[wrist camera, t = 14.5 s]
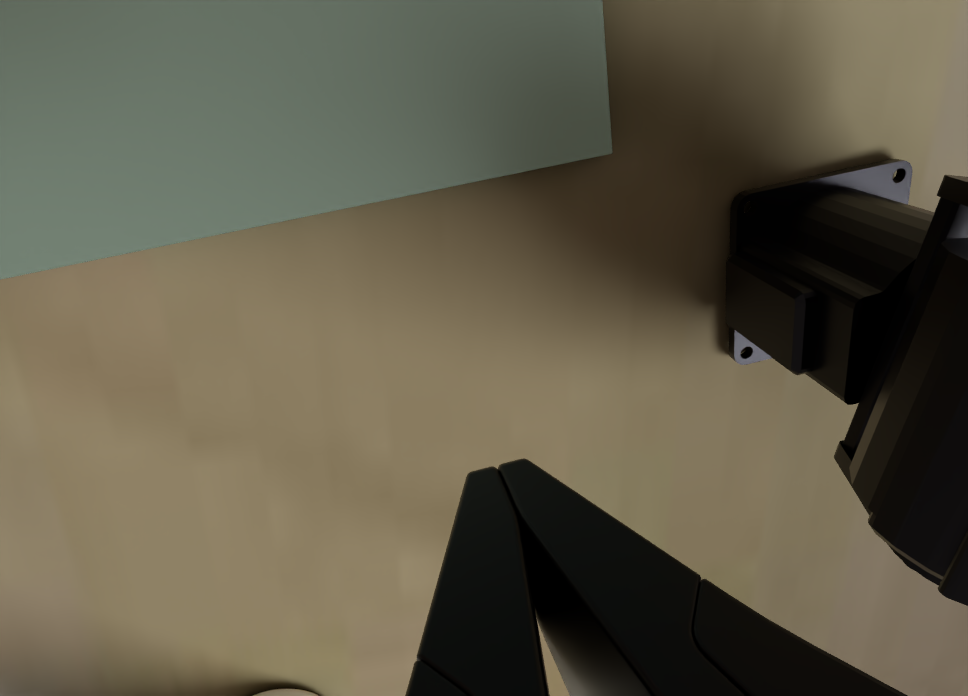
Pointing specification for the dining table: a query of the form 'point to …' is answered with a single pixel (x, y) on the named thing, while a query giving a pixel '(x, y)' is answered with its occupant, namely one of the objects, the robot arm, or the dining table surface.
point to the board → (274, 111)
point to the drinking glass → (286, 693)
